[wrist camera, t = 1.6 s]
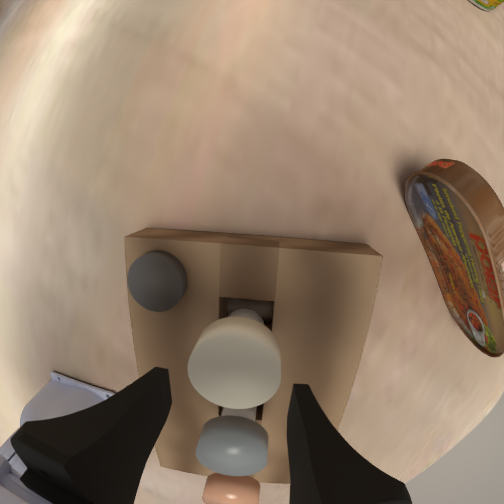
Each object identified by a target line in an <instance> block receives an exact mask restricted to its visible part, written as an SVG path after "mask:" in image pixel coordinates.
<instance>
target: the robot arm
mask: <svg viewBox="0 0 504 504" xmlns="http://www.w3.org/2000/svg"><path fill="white" fill-rule="evenodd" d="M50 375H51V378H52V379H51V380H50V381H49V382H48V383H47V384H46V385H45V386H44V387H43V388H42V389H41V390H40V391H39V392H38V393H37V394H36V395H35V396H34V397H33V398H32V399H31V400H30V401H29V402H28V403H27V405H26V406H25V407H24V409H23V411H22V414H21V418H20V428H18V429H17V430H16V431H15V432H14V433H13V434H12V435H11V436H10V437H9V438H8V439H7V441H6V442H5V443H4V444H3V445H2V446H1V447H0V504H134V500H135V496H136V493H137V489H138V486H139V483H140V479H141V476H142V473H143V470H144V467H145V465H146V462H147V460H148V457H149V455H150V453H151V451H152V449H153V447H154V445H155V443H156V441H157V439H158V437H159V435H160V433H161V431H162V429H163V427H164V425H165V423H166V421H167V418H168V415H169V412H170V408H171V405H172V395H171V387H170V379H169V370H168V369H166V368H161V367H154V368H153V369H151V370H150V371H148V372H147V373H146V374H144V375H143V376H142V377H140V378H139V379H137V380H136V381H135V382H133V383H132V384H130V385H129V386H127V387H126V388H124V389H123V390H121V391H119V392H118V393H116V394H115V393H113V392H110V391H107V390H104V389H101V388H98V387H95V386H91V385H88V384H86V383H83V382H80V381H77V380H74V379H71V378H69V377H66V376H63V375H61V374H58V373H56V372H53V371H52V372H51V373H50ZM287 447H288V458H289V469H290V504H412V501H411V498H410V495H409V493H408V490H407V488H406V486H405V484H404V483H403V482H401V481H399V480H397V479H395V478H393V477H391V476H390V475H388V474H386V473H384V472H383V471H381V470H380V469H378V468H377V467H375V466H374V465H372V464H371V463H370V462H369V461H367V460H366V459H365V458H364V457H362V456H361V455H360V454H359V453H358V452H357V451H356V450H354V449H353V448H352V447H351V446H350V445H349V444H348V442H347V441H346V440H345V439H344V438H343V437H342V436H341V435H340V433H339V432H338V431H337V430H336V428H335V427H334V426H333V425H332V423H331V422H330V420H329V419H328V417H327V416H326V414H325V413H324V411H323V410H322V408H321V406H320V405H319V403H318V401H317V400H316V398H315V396H314V394H313V392H312V390H311V388H310V386H309V385H308V384H295V383H293V388H292V394H291V399H290V404H289V409H288V414H287Z"/></svg>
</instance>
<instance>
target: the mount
mask: <svg viewBox="0 0 504 504" xmlns="http://www.w3.org/2000/svg"><path fill="white" fill-rule="evenodd" d="M125 257H126V274H127V287H128V299H129V309H130V318H131V326H132V334H133V341H134V348H135V355H136V361H137V367H138V373H139V378H140V377H142V376H143V375H144V374H146V373H147V372H148V371H150V370H151V369H153V368H154V367H161V368H166V369H168V370H169V379H170V387H171V395H172V405H171V408H170V412H169V415H168V418H167V421H166V423H165V425H164V427H163V429H162V431H161V433H160V435H159V437H158V439H157V441H156V443H155V448H156V452H157V455H158V459H159V462H160V465H161V467H165V468H170V469H174V470H178V471H183V472H188V473H193V474H198V475H204V476H209V475H211V474H213V473H217V472H214V471H212V470H210V469H208V468H206V467H205V466H204V465H202V464H201V463H200V462H199V460H198V459H197V457H196V448H197V444H198V441H199V438H200V435H201V431H202V428H203V426H204V424H205V423H206V422H207V421H209V420H210V419H212V418H215V417H219V416H221V415H222V411H223V407H222V406H219V405H216V404H214V403H212V402H210V401H209V400H207V399H205V398H204V397H203V396H202V395H200V394H199V393H198V392H197V390H196V389H195V388H194V387H193V385H192V383H191V381H190V379H189V376H188V370H187V369H188V361H189V358H190V356H191V354H192V351H193V349H194V347H195V345H196V343H197V341H198V339H199V337H200V335H201V334H202V332H203V331H204V329H205V328H206V327H207V326H208V325H210V324H211V323H213V322H215V321H217V320H219V319H222V318H226V317H227V297H230V298H240V299H252V300H264V301H274V302H273V312H272V323H271V324H264V326H266V327H267V328H268V329H269V330H270V331H271V332H272V333H273V334H274V335H275V337H276V338H277V340H278V342H279V345H280V349H281V382H280V386H279V388H278V390H277V391H276V393H275V394H274V395H273V397H272V398H270V399H269V400H268V401H266V402H265V403H263V404H261V405H259V406H257V409H256V418H255V422H257V423H259V424H260V425H261V426H262V427H264V429H265V430H266V431H267V433H268V437H269V440H268V456H267V464H266V466H265V468H264V469H263V470H261V471H260V472H258V473H255V474H252V475H249V476H250V477H252V478H254V479H256V480H257V481H258V482H262V483H283V484H290V469H289V458H288V447H287V414H288V409H289V404H290V399H291V394H292V388H293V383H295V384H308V385H309V386H310V388H311V390H312V392H313V394H314V396H315V398H316V400H317V401H318V403H319V405H320V406H321V408H322V410H323V411H324V413H325V414H326V416H327V417H328V419H329V420H330V422H331V423H332V425H333V426H334V427H335V428H336V430H338V428H339V425H340V422H341V419H342V417H343V414H344V411H345V408H346V405H347V402H348V399H349V396H350V393H351V390H352V387H353V383H354V380H355V377H356V373H357V370H358V367H359V363H360V360H361V356H362V352H363V348H364V345H365V341H366V337H367V333H368V329H369V324H370V320H371V316H372V311H373V307H374V302H375V297H376V292H377V287H378V282H379V276H380V270H381V265H382V258H383V256H382V255H381V254H379V253H378V252H377V251H375V250H374V249H372V248H371V247H370V246H368V245H367V244H359V243H347V242H336V241H324V240H312V239H300V238H287V237H274V236H260V235H247V234H233V233H218V232H203V231H187V230H171V229H154V228H146V229H143V230H141V231H138V232H135V233H133V234H130V235H128V236H125Z"/></svg>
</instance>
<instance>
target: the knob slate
mask: <svg viewBox="0 0 504 504" xmlns="http://www.w3.org/2000/svg"><path fill="white" fill-rule="evenodd" d="M256 409H257V406H256V407H252V408H247V409H232V408H226V407H223V411H222V415H221V416H219V417H215V418H212V419H210V420H209V421H207V422H206V423H205V424H204V426H203V428H202V431H201V435H200V438H199V441H198V444H197V448H196V457H197V459H198V460H199V462H200V463H201V464H202V465H204V466H205V467H206V468H208V469H210V470H212V471H214V472H217V473H220V474H224V475H229V476H248V475H252V474H255V473H258V472H260V471H261V470H263V469H264V468H265V466H266V464H267V456H268V440H269V437H268V433H267V431H266V430H265V429H264V427H262V426H261V425H260V424H259V423H257V422H255V418H256Z"/></svg>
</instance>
